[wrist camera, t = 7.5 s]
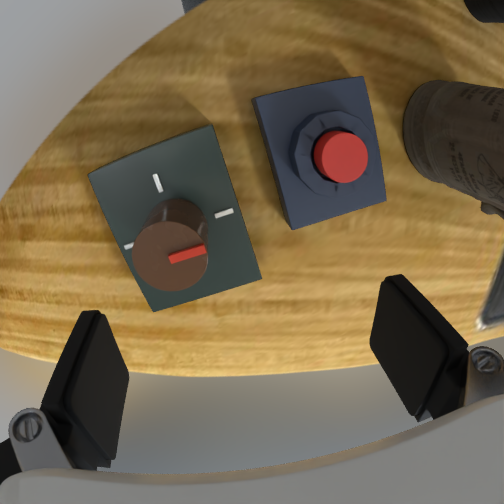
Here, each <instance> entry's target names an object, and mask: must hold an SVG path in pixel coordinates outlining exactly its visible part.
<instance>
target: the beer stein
mask: <svg viewBox="0 0 504 504" xmlns="http://www.w3.org/2000/svg"><path fill="white" fill-rule="evenodd" d="M403 131H404V142H405V146H406V150H407V152H408V155H409V157H410V160H411V162H412V163H413V165H414V166H415V167H416V169H417V170H418V172H419V173H420V174H422V175H423V176H424V177H426V178H427V179H429V180H431V181H434V182H438V183H443V184H446V185H447V186H449V187H450V188H454V189H456V190H458V191H460V192H463V193H465V194H468V195H470V196H472V197H474V198H475V199H477V200H480V201H482V202H481V211H483V212H484V213H486V214H498V215H499V216H500V217H502V218H503V219H504V89H503V88H496V87H487V86H480V85H474V84H468V83H464V82H448V81H442V80H435V81H430V82H427V83H425V84H423V85H421V86H420V87H419V88H418V89H417V90H416V91H415V93H414V94H413V96H412V97H411V99H410V101H409V104H408V106H407V109H406V111H405V116H404V122H403Z"/></svg>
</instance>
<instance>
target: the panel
mask: <svg viewBox="0 0 504 504" xmlns="http://www.w3.org/2000/svg"><path fill="white" fill-rule="evenodd" d="M88 177H89V180H90V182H91V185H92V187H93V190H94V192H95V194H96V197H97V199H98V202H99V204H100V206H101V208H102V211H103V213H104V215H105V218H106V220H107V222H108V224H109V226H110V229H111V231H112V233H113V235H114V237H115V239H116V241H117V244H118V246H119V248H120V250H121V252H122V254H123V256H124V258H125V260H126V262H127V264H128V266H129V268H130V270H131V272H132V274H133V276H134V278H135V280H136V281H137V283H138V285H139V287H140V289H141V291H142V293H143V295H144V296H145V298H146V300H147V302H148V304H149V306H150V307H151V309H152V311H153V312H156V311H159V310H163V309H166V308H169V307H173V306H176V305H180V304H183V303H186V302H189V301H193V300H196V299H199V298H203V297H206V296H209V295H212V294H216V293H219V292H222V291H225V290H228V289H232V288H235V287H238V286H241V285H244V284H247V283H251V282H254V281H257V280H260V279H262V276H261V273H260V270H259V267H258V264H257V260H256V257H255V254H254V251H253V248H252V245H251V242H250V239H249V236H248V233H247V230H246V226H245V223H244V220H243V217H242V214H241V211H240V208H239V205H238V202H237V199H236V196H235V192H234V189H233V186H232V183H231V180H230V177H229V174H228V171H227V168H226V165H225V162H224V159H223V155H222V152H221V149H220V146H219V143H218V140H217V137H216V134H215V131H214V128H213V125H212V124H208V125H205V126H202V127H199V128H196V129H193V130H191V131H188V132H185V133H182V134H179V135H177V136H174V137H171V138H168V139H166V140H163V141H161V142H158V143H155V144H153V145H150V146H148V147H145V148H143V149H140V150H138V151H136V152H133V153H131V154H128V155H126V156H124V157H121V158H119V159H117V160H115V161H112V162H110V163H108V164H106V165H104V166H101V167H99V168H98V169H96V170H94V171H92V172H91V173H89V174H88ZM168 199H184V200H187V201H190V202H192V203H193V204H195V205H196V206H197V207H198V208H200V210H201V211H202V212H203V214H204V215H205V217H206V220H207V224H208V264H207V268H206V271H205V273H204V274H203V276H202V277H201V279H200V280H199V281H198V282H197V283H195V284H194V285H192V286H191V287H189V288H187V289H184V290H180V291H164V290H160V289H157V288H154V287H152V286H151V285H149V284H147V283H146V282H145V281H144V280H143V279H142V278H141V277H140V276H139V274H138V273H137V271H136V270H135V267H134V265H133V261H132V248H133V244H134V241H135V239H136V237H137V236H138V234H139V232H140V230H141V228H142V226H143V224H144V222H145V220H146V219H147V217H148V215H149V213H150V212H151V210H152V209H153V208H154V207H155V206H156V205H157V204H159V203H161V202H163V201H165V200H168Z"/></svg>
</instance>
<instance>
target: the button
mask: <svg viewBox="0 0 504 504" xmlns="http://www.w3.org/2000/svg"><path fill="white" fill-rule="evenodd" d="M314 161H315V164H316V166H317V168H318V169H319V170H320V172H321V173H323V174H324V175H326V176H327V177H329V178H331V179H332V180H334V181H336V182H340V183H348V182H352V181H354V180H356V179H357V178H359V177H360V176H361V175H362V174H363V172H364V171H365V169H366V166H367V162H368V152H367V149H366V146H365V144H364V143H363V141H362V140H361V139H360V138H359V137H358V136H356V135H354V134H351V133H347V132H342V131H331V132H328V133H326V134H324V135H323V136H322V137H321V138H320V139H319V140H318V142H317V143H316V146H315V149H314Z"/></svg>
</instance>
